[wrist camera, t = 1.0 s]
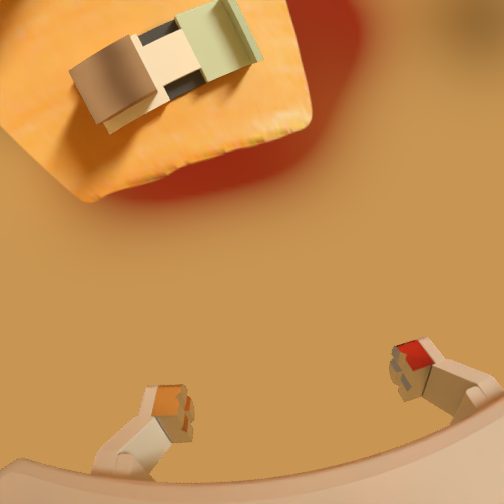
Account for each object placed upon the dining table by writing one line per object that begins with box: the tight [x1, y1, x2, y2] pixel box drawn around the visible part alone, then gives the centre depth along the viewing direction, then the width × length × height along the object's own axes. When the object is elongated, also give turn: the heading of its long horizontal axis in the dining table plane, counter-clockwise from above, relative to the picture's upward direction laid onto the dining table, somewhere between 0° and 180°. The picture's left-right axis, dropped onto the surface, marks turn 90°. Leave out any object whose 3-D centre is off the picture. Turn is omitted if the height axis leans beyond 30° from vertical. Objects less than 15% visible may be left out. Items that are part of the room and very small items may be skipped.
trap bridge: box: [103, 0, 264, 135], centre depth 35 cm, size 24×12×6 cm, turn 113°
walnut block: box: [69, 35, 158, 125], centre depth 31 cm, size 8×8×9 cm
